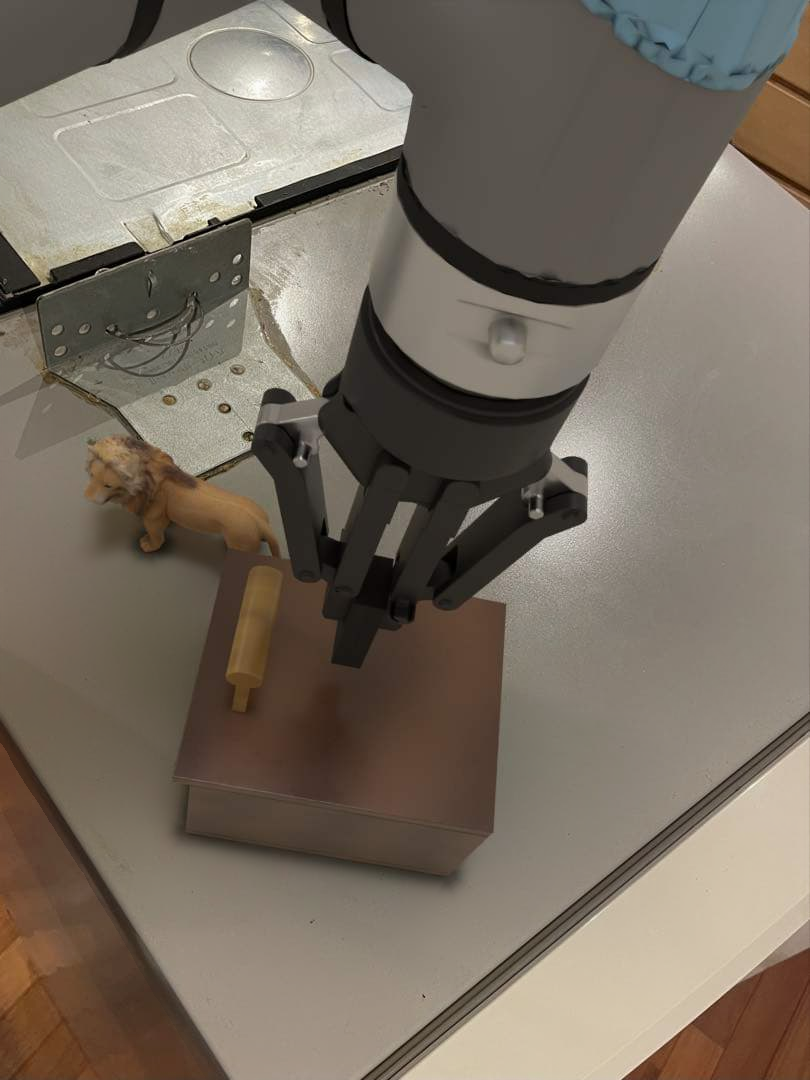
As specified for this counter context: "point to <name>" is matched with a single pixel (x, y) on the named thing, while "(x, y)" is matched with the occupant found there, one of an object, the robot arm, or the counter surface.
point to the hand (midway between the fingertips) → (349, 641)
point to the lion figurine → (171, 496)
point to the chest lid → (346, 704)
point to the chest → (327, 831)
